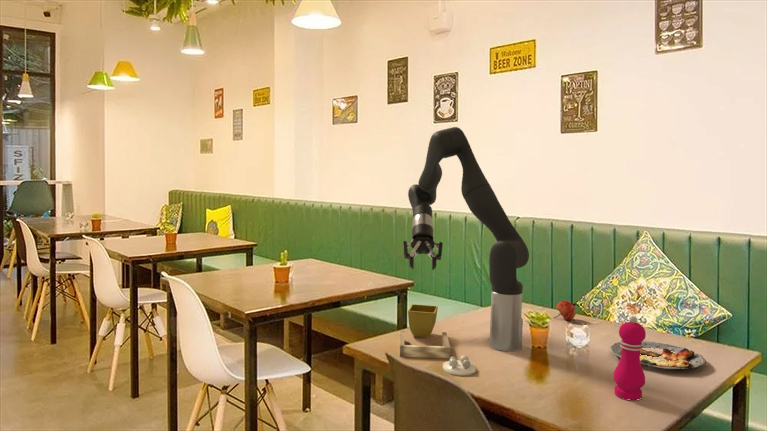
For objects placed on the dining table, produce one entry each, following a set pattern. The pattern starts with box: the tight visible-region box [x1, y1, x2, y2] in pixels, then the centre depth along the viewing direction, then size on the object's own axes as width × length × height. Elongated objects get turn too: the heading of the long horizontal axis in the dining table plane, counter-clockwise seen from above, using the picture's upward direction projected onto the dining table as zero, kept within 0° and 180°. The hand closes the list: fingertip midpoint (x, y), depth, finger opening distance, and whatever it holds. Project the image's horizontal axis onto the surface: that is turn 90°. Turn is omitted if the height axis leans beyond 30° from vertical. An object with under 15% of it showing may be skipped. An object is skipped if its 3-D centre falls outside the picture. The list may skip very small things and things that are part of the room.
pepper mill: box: [612, 315, 647, 401], centre depth 140 cm, size 7×7×20 cm
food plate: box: [609, 340, 707, 371], centre depth 168 cm, size 25×23×4 cm
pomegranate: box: [553, 299, 578, 321], centre depth 209 cm, size 7×7×10 cm
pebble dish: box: [442, 354, 477, 377], centre depth 156 cm, size 9×9×3 cm
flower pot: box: [407, 303, 439, 338], centre depth 186 cm, size 9×9×9 cm
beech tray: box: [399, 330, 451, 359], centre depth 173 cm, size 14×15×3 cm
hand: (422, 268), depth 193 cm, fingers open, 6 cm apart
